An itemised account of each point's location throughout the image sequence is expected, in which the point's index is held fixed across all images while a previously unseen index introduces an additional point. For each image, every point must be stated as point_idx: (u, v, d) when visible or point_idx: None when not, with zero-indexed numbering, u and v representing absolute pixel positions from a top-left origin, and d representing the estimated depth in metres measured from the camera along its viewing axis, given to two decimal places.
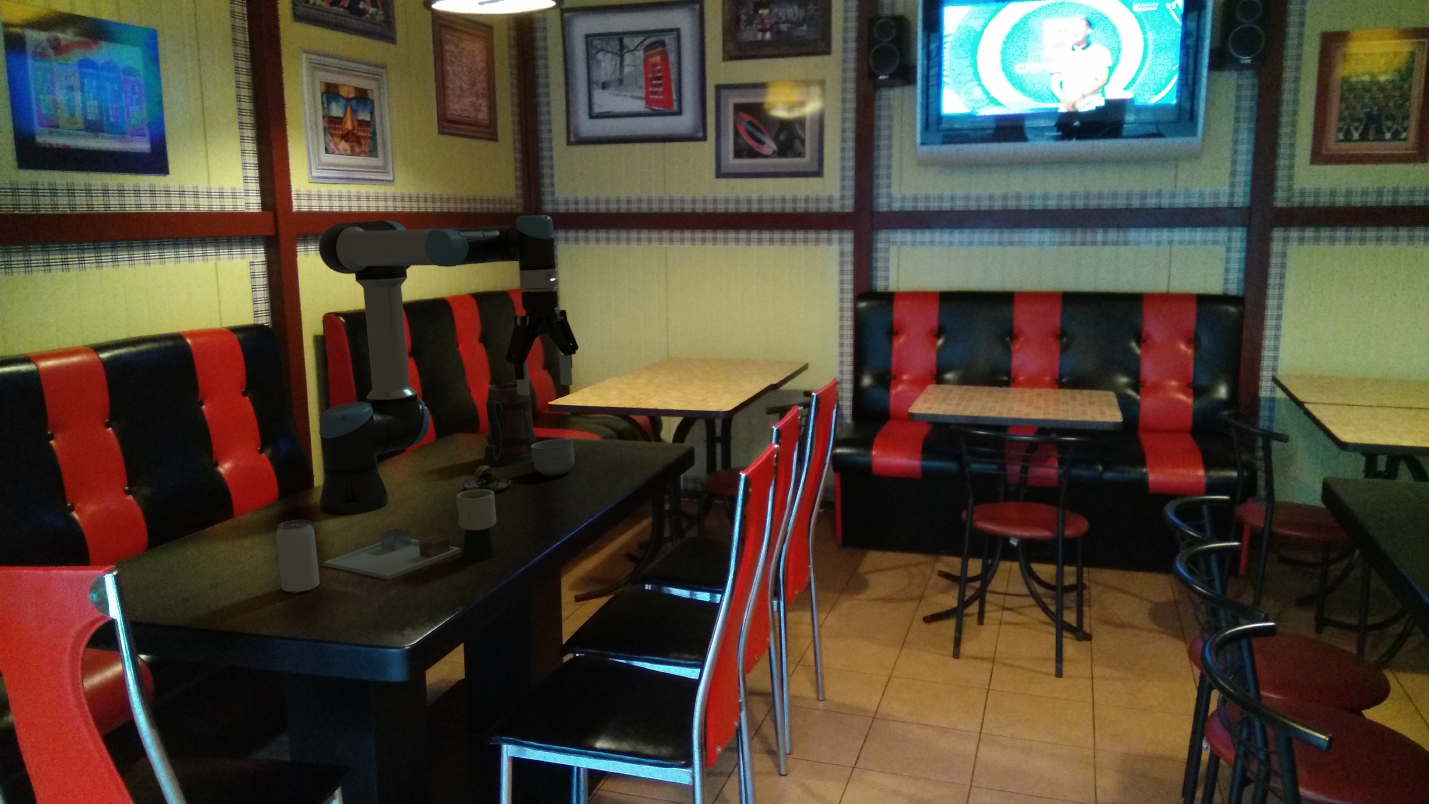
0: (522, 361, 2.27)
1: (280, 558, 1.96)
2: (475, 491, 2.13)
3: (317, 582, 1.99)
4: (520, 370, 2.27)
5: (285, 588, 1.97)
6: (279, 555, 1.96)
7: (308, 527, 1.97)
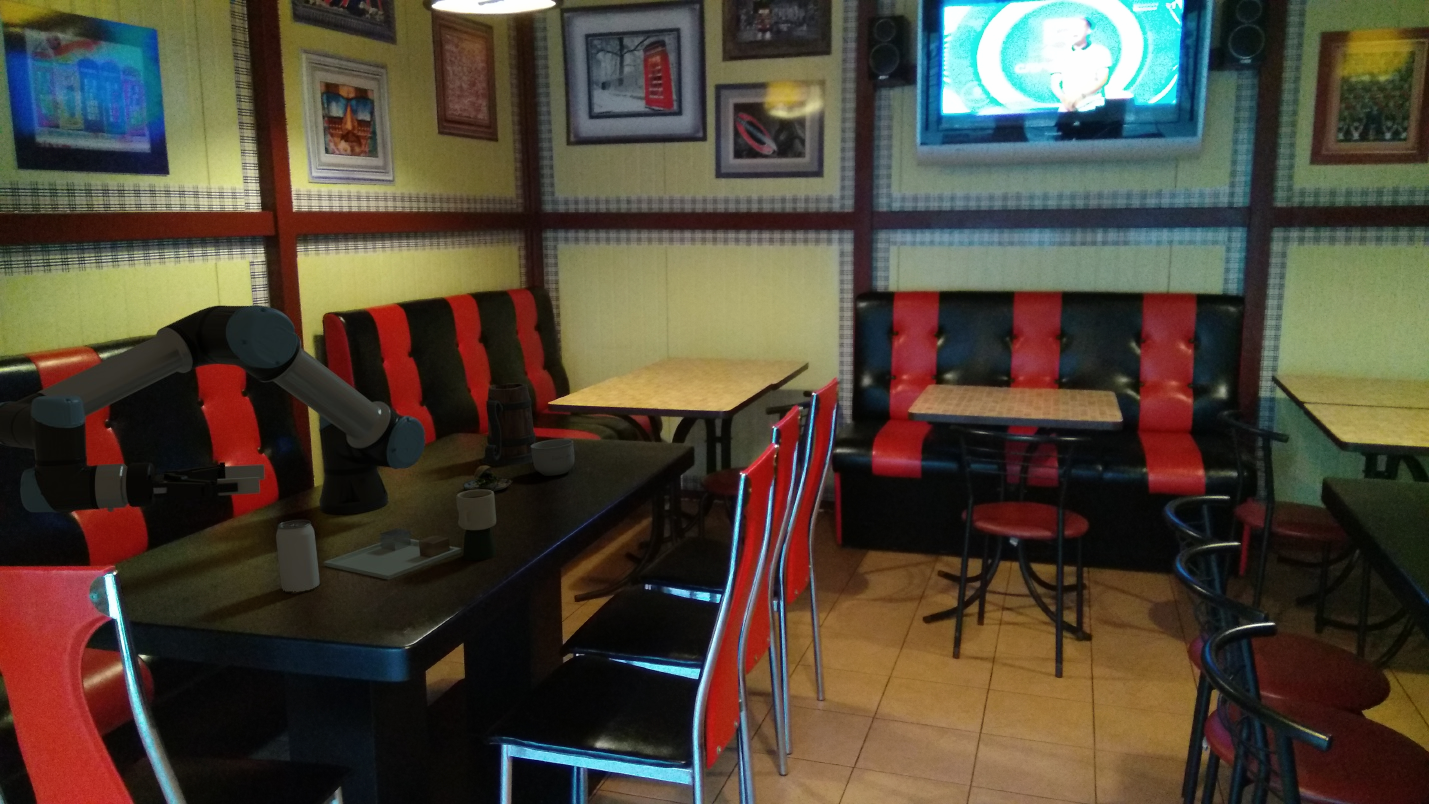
0: None
1: (280, 558, 1.96)
2: (475, 491, 2.13)
3: (317, 582, 1.99)
4: None
5: (285, 588, 1.97)
6: (279, 555, 1.96)
7: (308, 527, 1.97)
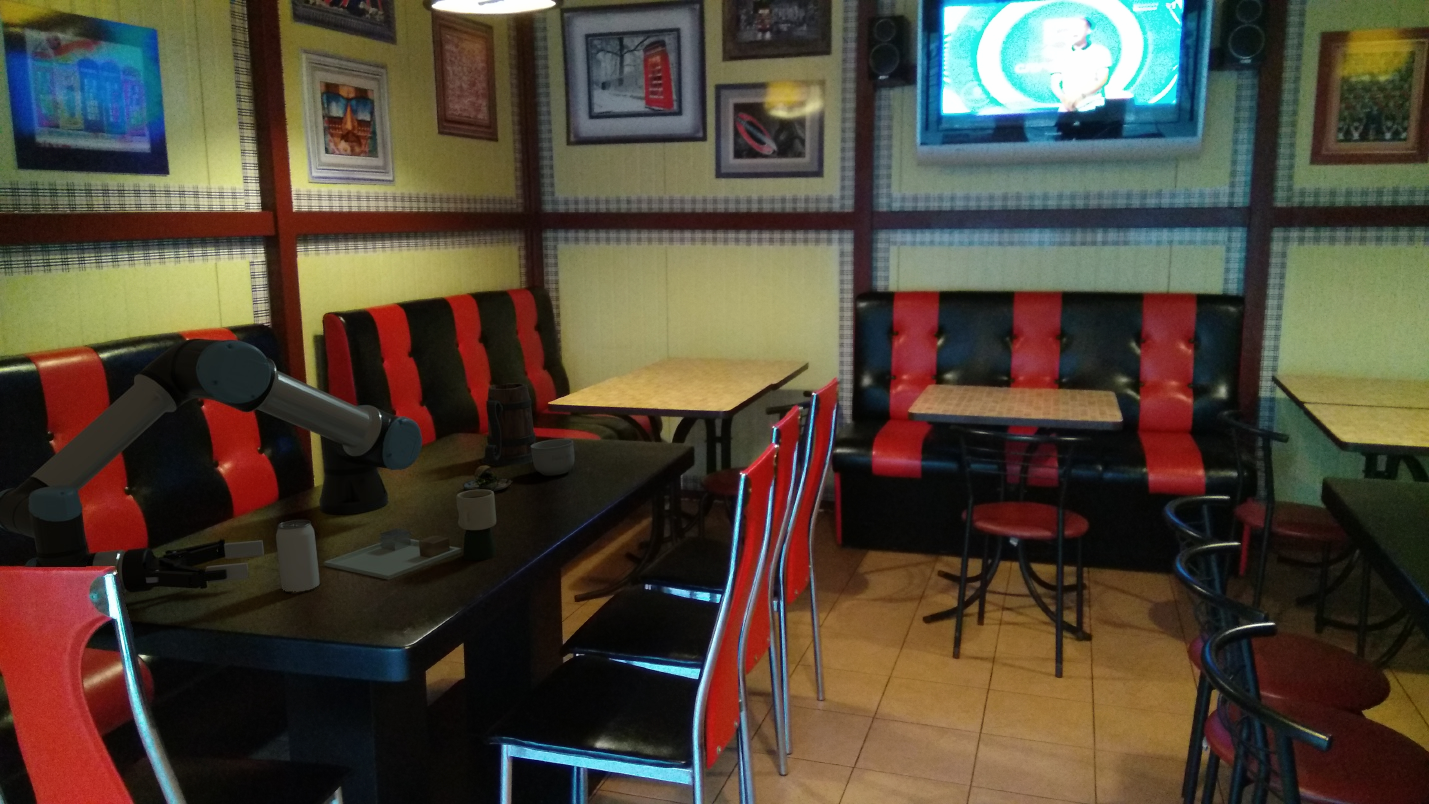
0: None
1: (280, 558, 1.96)
2: (475, 491, 2.13)
3: (317, 582, 1.99)
4: None
5: (285, 588, 1.97)
6: (279, 555, 1.96)
7: (308, 527, 1.97)
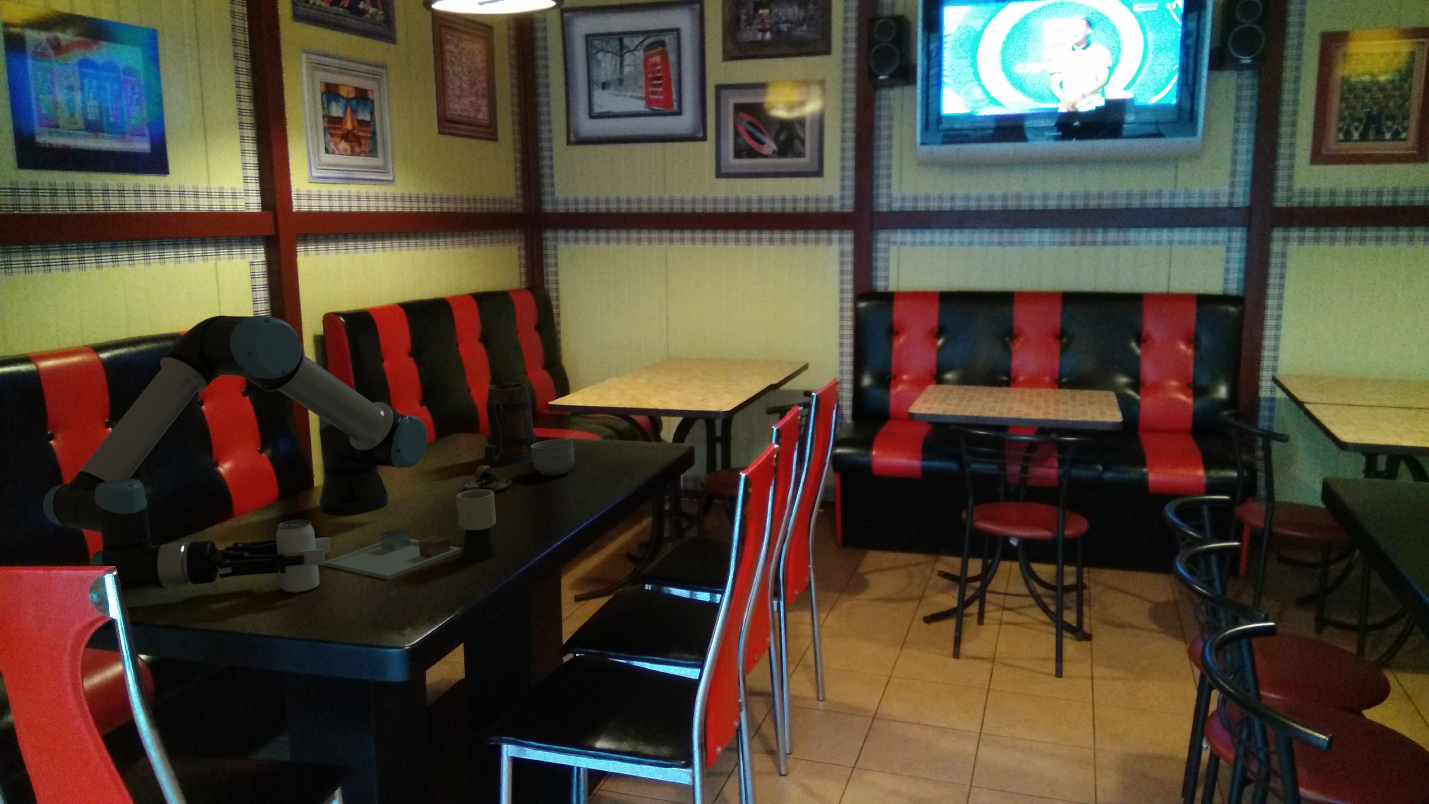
0: None
1: None
2: (475, 491, 2.13)
3: (317, 582, 1.99)
4: None
5: (285, 588, 1.97)
6: None
7: (308, 527, 1.97)
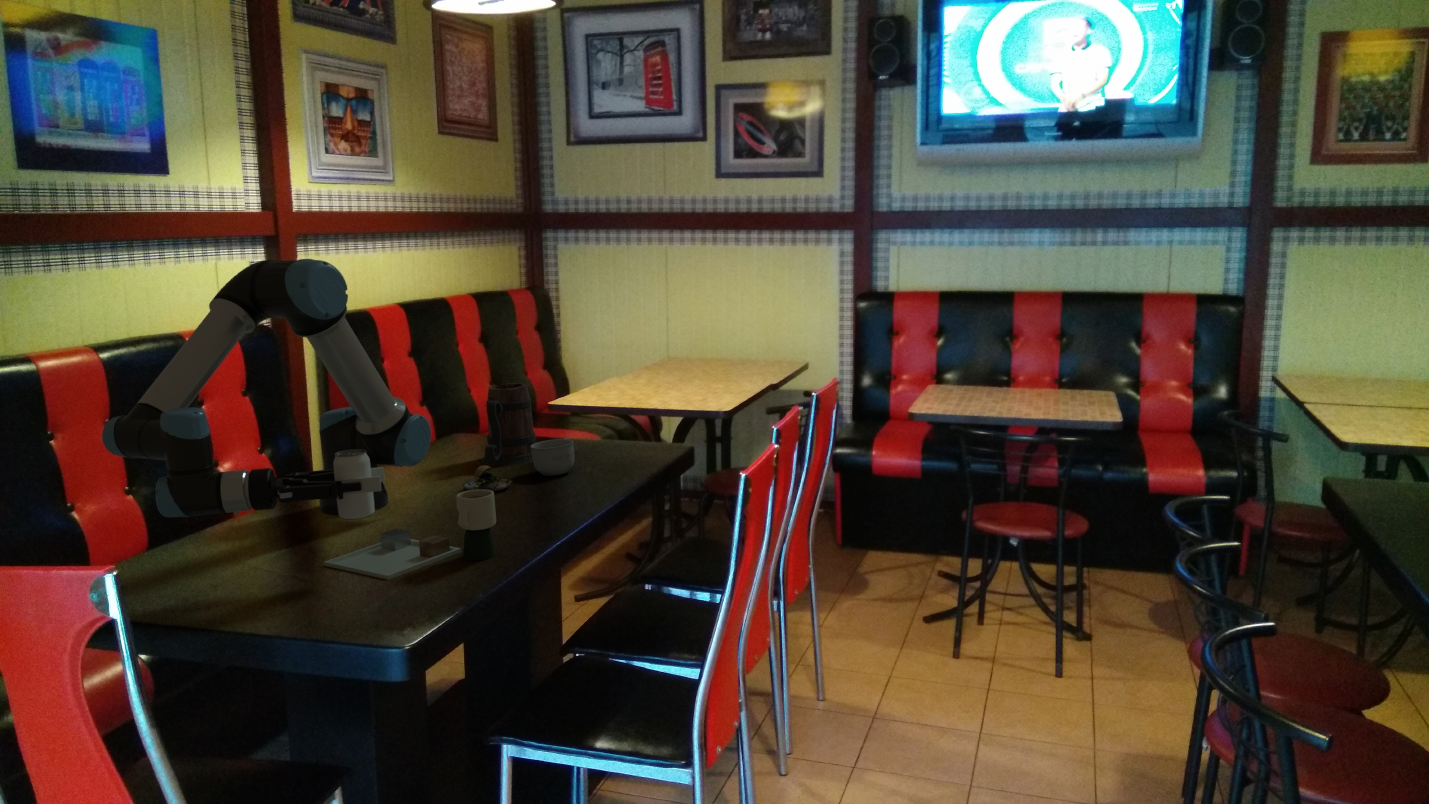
0: None
1: None
2: (475, 491, 2.13)
3: (373, 509, 2.05)
4: None
5: (342, 514, 2.03)
6: None
7: (364, 456, 2.03)
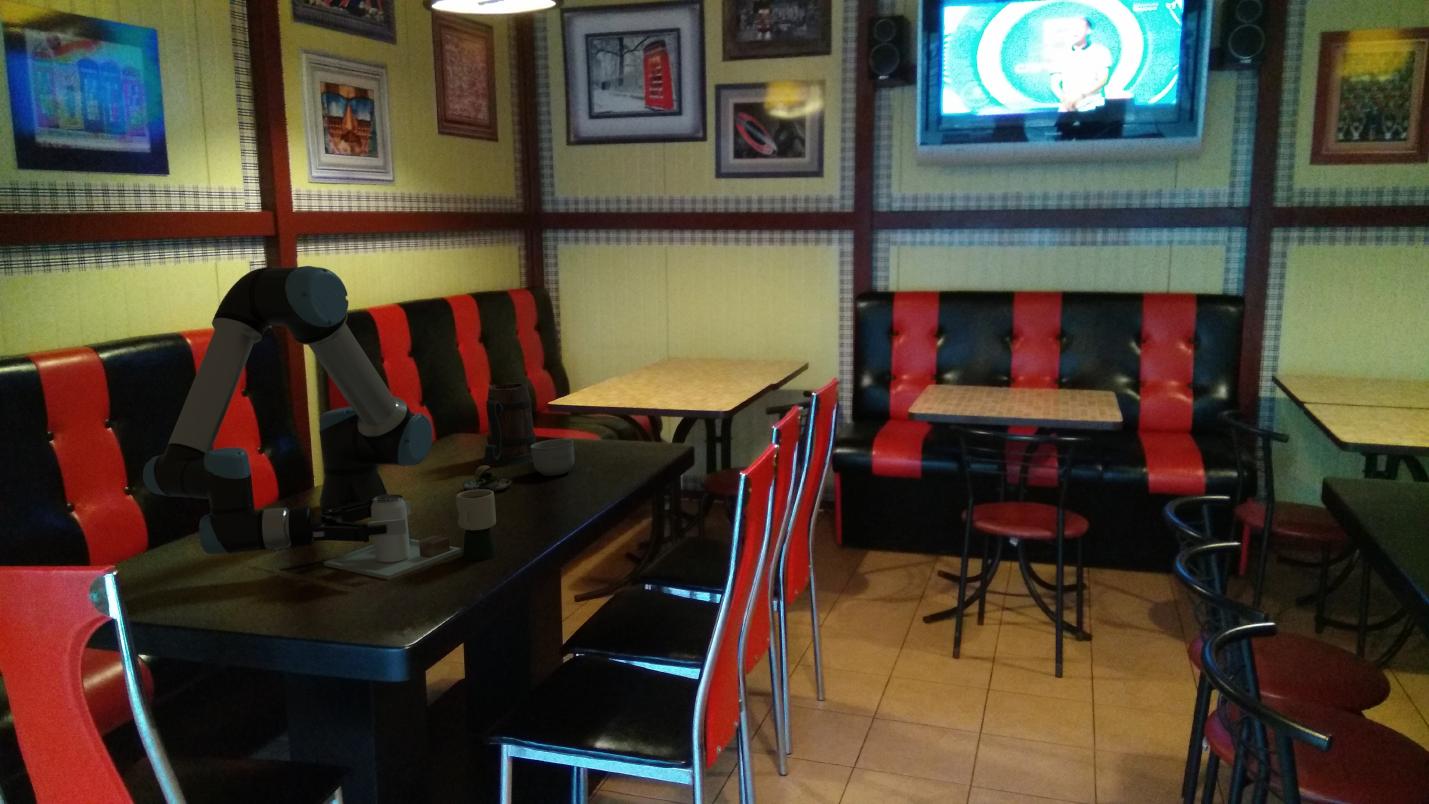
0: None
1: None
2: (475, 491, 2.13)
3: (408, 553, 2.12)
4: None
5: (379, 558, 2.09)
6: None
7: (401, 501, 2.10)
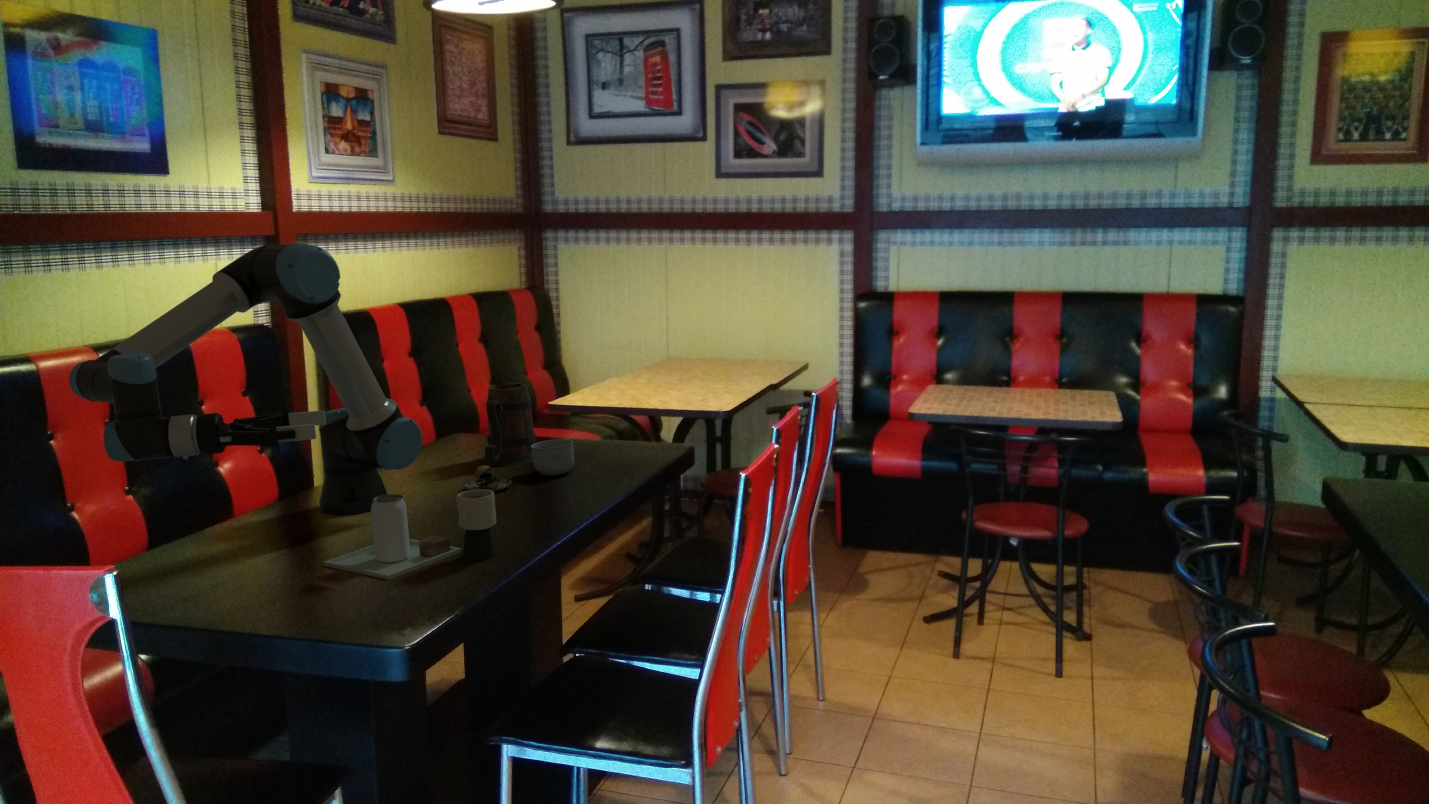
0: None
1: (375, 529, 2.09)
2: (475, 491, 2.13)
3: (408, 553, 2.12)
4: None
5: (379, 558, 2.09)
6: (374, 527, 2.09)
7: (401, 501, 2.10)
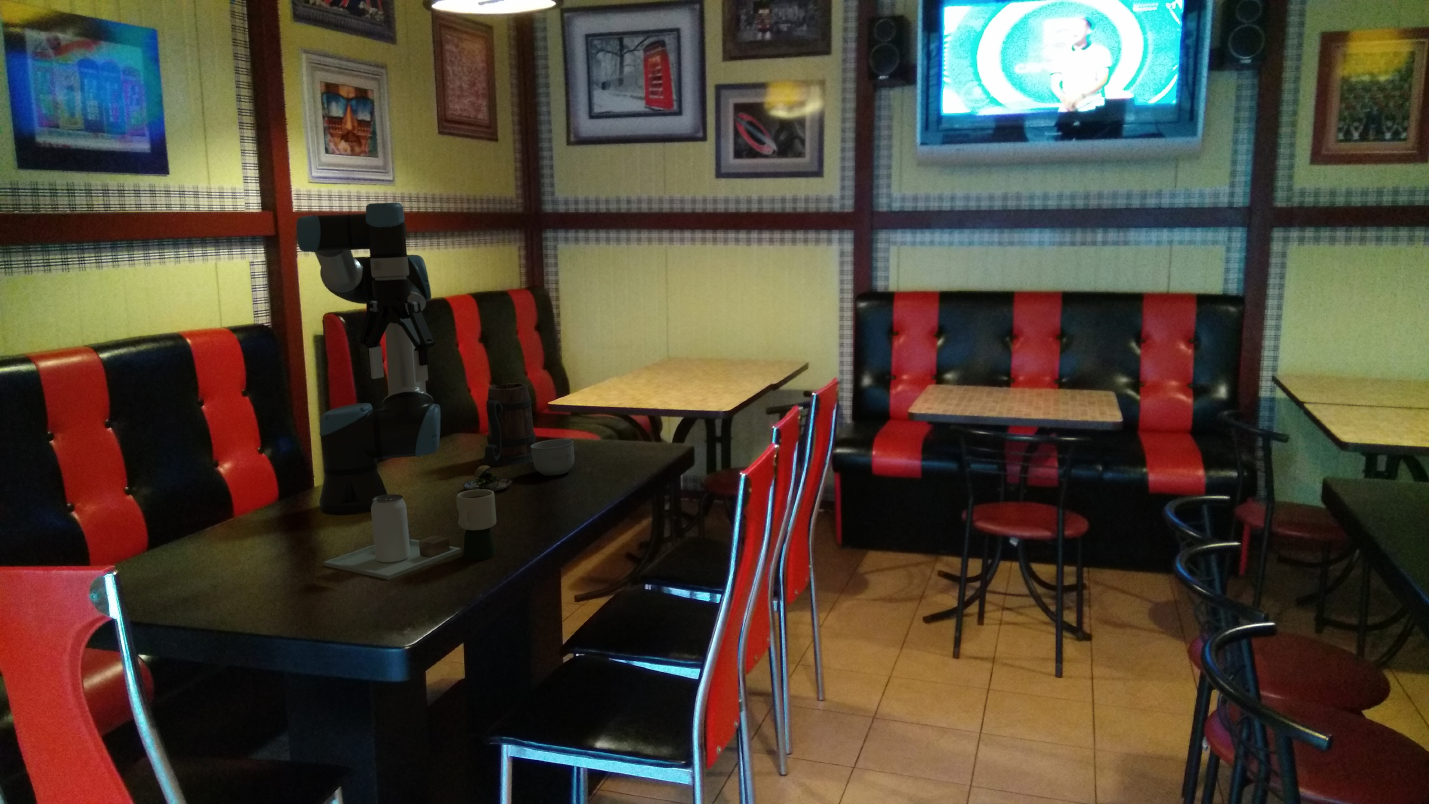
0: (366, 344, 2.34)
1: (375, 529, 2.09)
2: (475, 491, 2.13)
3: (408, 553, 2.12)
4: (368, 353, 2.35)
5: (379, 558, 2.09)
6: (374, 527, 2.09)
7: (401, 501, 2.10)
